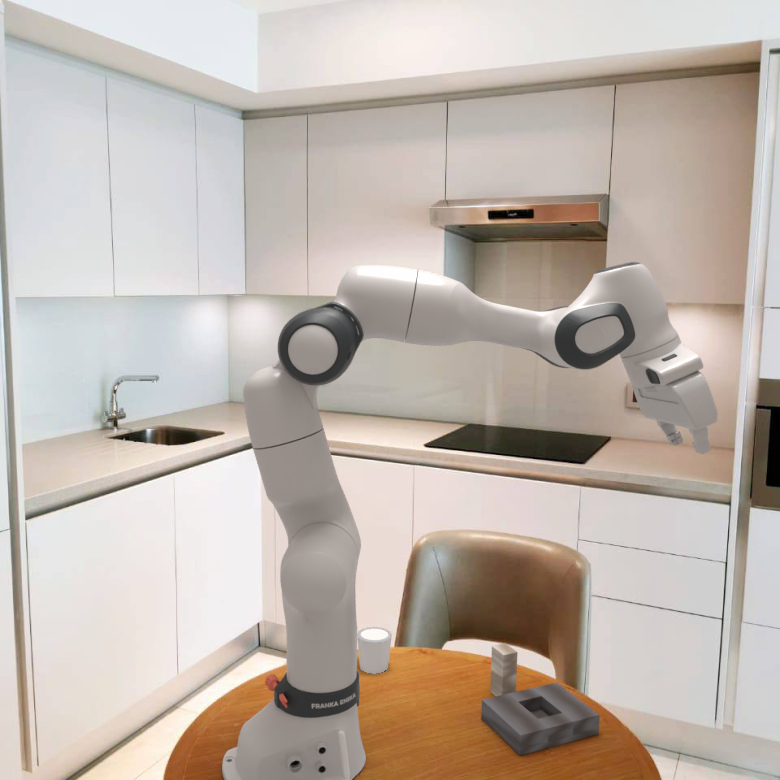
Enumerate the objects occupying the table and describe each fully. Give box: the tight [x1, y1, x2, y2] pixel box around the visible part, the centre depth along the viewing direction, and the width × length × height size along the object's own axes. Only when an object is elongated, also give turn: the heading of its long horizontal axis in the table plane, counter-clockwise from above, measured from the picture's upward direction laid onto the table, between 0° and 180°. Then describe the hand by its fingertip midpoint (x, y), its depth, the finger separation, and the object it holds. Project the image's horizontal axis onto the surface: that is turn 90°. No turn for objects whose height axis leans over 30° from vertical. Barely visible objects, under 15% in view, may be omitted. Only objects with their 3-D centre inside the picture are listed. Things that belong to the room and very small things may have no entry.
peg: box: [489, 642, 518, 697], centre depth 145 cm, size 3×4×9 cm
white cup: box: [357, 626, 393, 675], centre depth 155 cm, size 7×7×7 cm
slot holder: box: [480, 682, 601, 756], centre depth 135 cm, size 16×12×4 cm
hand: (690, 447), depth 118 cm, fingers open, 8 cm apart
